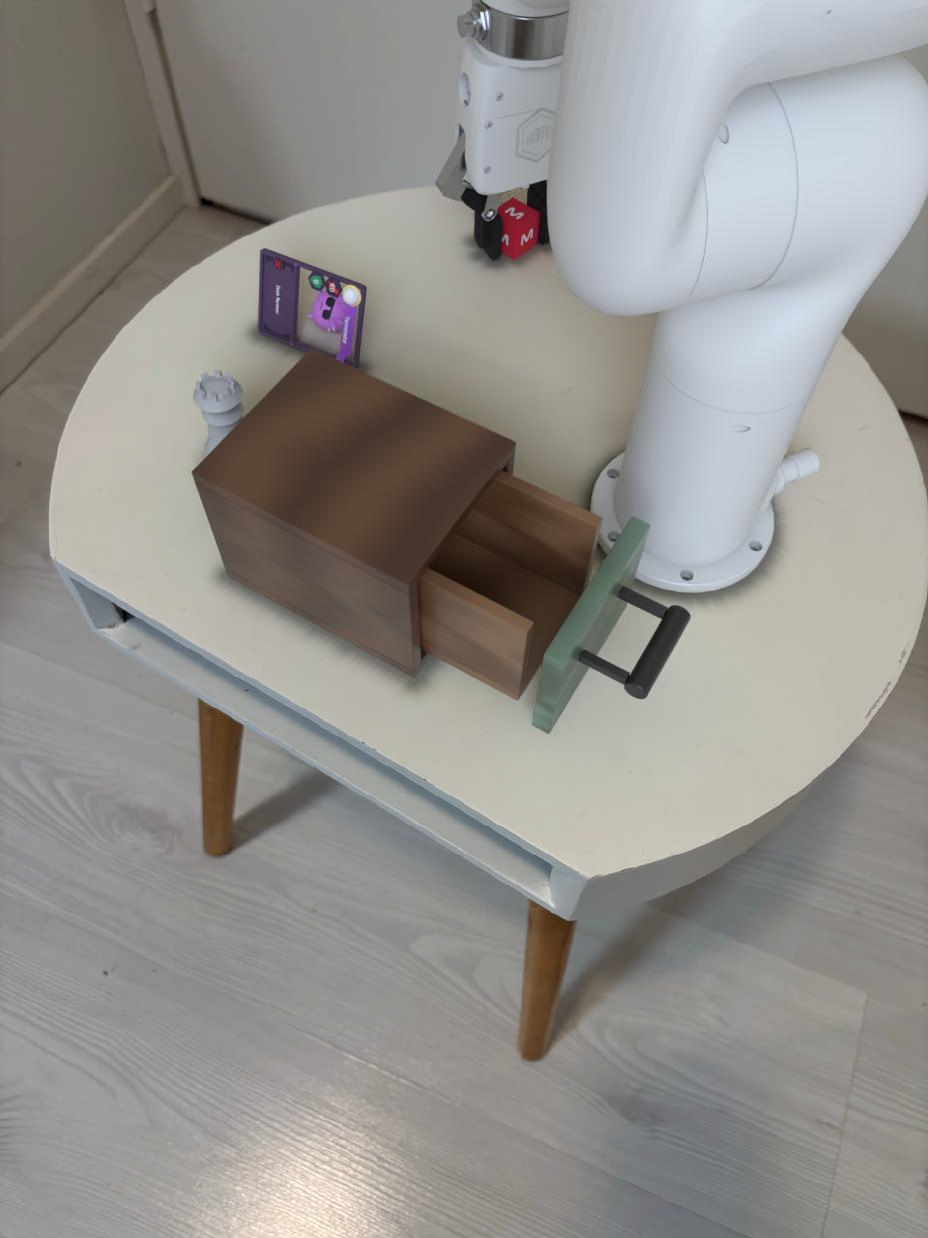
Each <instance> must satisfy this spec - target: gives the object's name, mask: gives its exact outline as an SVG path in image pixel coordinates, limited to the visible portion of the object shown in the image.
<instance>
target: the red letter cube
mask: <svg viewBox="0 0 928 1238" xmlns="http://www.w3.org/2000/svg"><path fill="white" fill-rule="evenodd" d="M497 213H498V214H499V215H500V217H501V218H502V221H503V224H502V242H501V254H502V253H503V255H506V256H507V257H509V258H511V259H512V260H514V261H515V260H517V259H518V258H520V257H521V256H522V255H523V254H524V253H526V252H527V251H529V250H530V249H531V248H533V247H534V246H535V245H537V244H538V241H537V240H538V229H539V218H540V212H538V211H536V210H535V209H533V208H531V207H529V206H528V205H526V203H524V202H522V201H521V200H519V199H518V198H516V197H514V196H512V197H511V198H509V199H508V200H507V201H504V203H502V204H501V205H499V206H498V211H497Z"/></svg>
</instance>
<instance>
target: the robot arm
mask: <svg viewBox="0 0 928 1238" xmlns="http://www.w3.org/2000/svg"><path fill="white" fill-rule="evenodd" d="M456 28H457V32H458V35H459V36H460V38H462V39H465V40H464V41H465V42H464V46H463V49H462V54H461V58H460V62H459V63H460V64H459V67H458V75H457V80H456V88H455V97H454V108H453V120H452V123H453V124H452V150H451V152H450V154H449V156H448V158H447V160H446V161H445V163H444V165H443V167H442V169H441V171H440V173H439V175H438V176H437V178H436V179H435V188H437V189H438V191H439V192H440V194H441V195H442V196H443V197H444V198H448V199H450V200H453V201H457V202H461V203H463V204H464V205H465V206H467V207H468V208H470V210H472V211H474V218H473V219H474V220H473V222H474V223H473V227H474V228H473V236H474V237H473V238H474V241H475V243H476V245H477V246H478V248H479V249H483V250H484V252H485V253H486V255H487V256H488V258H489V259H490V261H497V260H500V257H501V256H502V252H501V242H502V224H503V221H502V218H501V217H500V215H499V214H498V213H497V211H498V207H499V206H500V201H501V197H502V193H505V192H509V191H512V190H517V189H520V188H523V187H527V186H528V187H527V190H526V191H527V193H526V203H525V204H526V205H528V206H529V207H531V208H533V209H535V210H536V211H538V212H540V218H539V229H538V240H537V243H538V244H539V245H542V246H545V245H548V244H550V247H551V253H552V255H553V259H554V262H555V265H556V267H557V270H558V273H559V275H560V277H561V278H562V281H563V283H564V284H565V286H566V287H567V288H568V290H569V291H570V292H571V294H572V295H573V296H574V297H575V298H576V299H577V300H579V301H580V302H581V303H582V304H583V305H584V306H586V307H587V308H589V309H591V310H593V311H594V312H598V313H600V314H603V315H607V316H612V317H620V318H623V317H625V318H626V317H639V316H644V315H645V316H646V315H650V314H656V313H657V316H656V320H655V325H654V329H653V332H652V336H651V339H650V340H651V341H650V345H649V348H648V353H647V357H646V361H645V365H644V370H643V374H642V378H641V382H640V386H639V391H638V395H637V399H636V404H635V407H634V413H633V416H632V420H631V425H630V429H629V432H628V433H629V434H628V438H627V441H626V446H625V450H624V451H623V452H621V453H619V455H617V456H616V457H615V458H613V459H611V461H609V462H608V464H607V465H606V466H605V467H604V468H603V469H602V471H601V472H600V473H599V475H598V477H597V479H596V481H595V483H594V485H593V486H594V487H593V489H592V492H591V493H592V494H591V498H590V505H589V511H590V512H592V513H594V514H596V515H598V516H600V517H602V518H603V520H602V524H601V529H600V533H599V537H598V542H597V543H598V544H599V545H600V547H601V549H602V550H603V552H604V553H605V554H606V555H607V554H608V553H609V551H610V550H611V548H612V547H613V545H614V543H615V542H616V540H617V539H618V537H619V536H620V534H621V532H622V531H623V529H624V528H625V526H626V525H627V523H628V521H629V520H630V518H631V517H632V516H633V517H635V518H637V519H640V520H642V521H644V522H646V523H648V524H650V529H649V532H648V535H647V539H646V542H645V545H644V549H643V552H642V555H641V559H640V562H639V565H638V569H637V572H636V576H635V579H637V580H639V582H640V581H641V582H642V583H644V584H646V585H650V586H652V587H656V588H657V589H661V590H666V591H672V592H676V593H693V594H694V593H695V594H697V593H707V592H714V591H717V590H720V589H724V588H727V587H731V586H732V585H734V584H736V583H737V582H739V581H741V580H743V579H746V578H747V577H748V575H749V574H751V573H752V572H753V571H754V570H756V569H757V567H759V565H760V563H761V562H762V560H763V559H764V557H765V556H766V554H767V552H768V550H769V548H770V546H771V544H772V540H773V537H774V533H775V512H774V509H773V504H772V499H773V497H774V496H776V495H779V494H781V493H782V492H783V490H785V486H786V485H788V484H791V483H796V482H798V481H801V480H804V479H805V478H808V477H811V476H813V475H815V474H818V473H819V472H820V470H821V461H820V457H819V455H818V454H817V452H816V451H815V450H814V449H813V448H811V447H805V448H802V449H799V450H797V451H794V452H792V453H789V454H787V455H786V453H787V451H788V449H789V446H790V444H791V442H792V440H793V438H794V436H795V433H796V431H797V429H798V427H799V424H800V422H801V420H802V418H803V416H804V413H805V411H806V409H807V407H808V404H809V403H810V400H811V398H812V396H813V393H814V391H815V389H816V386H817V385H818V383H819V381H820V379H821V377H822V375H823V373H824V370H825V368H826V366H827V363H828V361H829V360H830V357H831V355H832V353H833V351H834V349H835V347H836V344H837V342H838V341H839V339H840V336H841V335H842V333H843V331H844V329H845V327H846V325H847V324H848V321H849V319H850V318H851V316H852V315H853V313H854V311H855V309H856V308H857V306H858V305H859V303H860V301H861V300H862V298H863V297H864V295H865V294H866V293H867V291H868V290H869V288H870V287H871V285H872V284H873V283H874V282H875V280H876V279H877V278H878V276H879V275H880V273H881V272H882V271H883V269H884V268H885V266H886V265H887V264H888V263H889V261H890V260H891V259H892V257H893V256H894V254H895V253H896V252H897V250H898V248H899V247H900V246H901V244H902V243H903V242H904V240H905V238H906V237H907V235H908V233H909V232H910V230H911V229H912V227H913V225H914V223H915V222H916V220H917V219H918V216H919V215H920V213H921V211H922V208H923V206H924V204H925V202H926V200H927V197H928V83H927V81H926V79H925V78H924V76H923V74H922V73H920V71H919V70H917V68H916V67H915V66H914V64H913V63H911V62H909V61H908V60H907V58H906V59H905V57H903V55H900V54H899V53H902V52H905V51H909V50H912V49H915V48H919V47H922V46H924V45H927V44H928V0H471V7H470V10H467V11H466V13H464V14H460V15H458V16H457V18H456ZM466 174H467V179H468V180H466V179H463V178H464V177H465V175H466Z"/></svg>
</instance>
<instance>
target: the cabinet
mask: <svg viewBox="0 0 928 1238" xmlns="http://www.w3.org/2000/svg"><path fill="white" fill-rule="evenodd" d="M516 447H517V442H516V441H515V440H512V439H511V438H508V437H506V436H504V435H502V434H499V433H498V432H495V431H494V430H491V429H488V428H487V427H484V426H482V425H480V424H478V423H476V422H473V421H471V420H469V419H467V418H465V417H463V416H460V415H458V414H456V413H454V412H452V411H450V410H447V409H445V408H443V407H441V406H438V405H436V404H435V403H432V402H430V401H427V400H426V399H423V398H421V397H419V396H416V395H414V394H412V393H411V392H408V391H406V390H404V389H402V388H399V387H397V386H396V385H393V384H391V383H389V382H386V381H384V380H382V379H381V378H377V377H375V376H373V375H371V374H369V373H366V372H365V371H362V370H360V369H359V368H358V369H356V368H354V367H352V366H349V365H347V364H345V363H343V362H341V361H338V360H336V359H334V358H332V357H330V356H328V355H325V354H323V353H321V352H319V351H317V350H314V349H312V348H311V349H310V350H309V351H308V352H306V353H305V354H304V355H303V356H302V357H301V358H300V359H299V360H298V361H297V362H296V363H295V364H294V365H293V366H292V367H291V368H290V369H289V371H287V372H286V374H284V375H283V376H282V377H281V378H280V380H279V381H278V382H276V384H275V385H274V386H273V387H272V388H271V389H270V390H269V391H268V392H267V393H266V394H265V395H264V396H263V397H262V398H261V399H260V400H259V401H258V402H257V403H256V404H255V406H253V408H252V409H251V410H250V411H248V413H247V414H246V415H245V416H243V419H242V420H241V421H240V422H239V423H238V424H237V425H236V426H235V427H234V428H233V429H232V431H231V432H230V433H229V434H228V435H227V436H226V437H225V438H224V439H223V440H222V441H221V442H220V443H219V444H218V445H217V446H216V447H215V448H214V449H213V450H212V451H211V452H210V453H209V454H208V455H207V456H206V457H205V458H204V457H203V459H202V460H201V461H200V462H199V463H198V464H197V465H196V467H195V468H194V469H192V471H190V472H191V475H192V479H193V481H194V484H195V487H196V490H197V493H198V496H199V499H200V501H201V505H202V507H203V510H204V512H205V516H206V518H207V521H208V524H209V527H210V530H211V532H212V535H213V538H214V541H215V544H216V547H217V550H218V553H219V556H220V558H221V561H222V564H223V566H224V569H225V572H226V575H227V577H229V578H230V579H232V580H234V581H236V582H238V583H240V584H241V585H244V587H247V588H249V589H251V590H252V591H254V592H256V593H258V594H260V595H262V596H263V597H265V598H267V599H269V600H271V601H273V602H275V603H277V604H278V605H280V606H281V607H284V608H286V609H287V610H289V611H291V612H293V613H295V614H296V615H298V616H300V617H301V618H304V619H305V620H307V621H309V622H311V623H312V624H315V625H316V626H318V627H320V628H321V629H324V630H326V631H327V632H329V633H331V634H333V635H335V636H336V637H338V638H340V639H342V640H344V641H345V642H347V643H349V644H350V645H353V646H354V647H356V648H359V649H360V650H362V651H364V652H366V653H367V654H369V655H371V656H373V657H375V658H376V659H379V660H380V661H382V662H384V663H386V664H387V665H389V666H391V667H393V668H395V669H396V670H398V671H400V672H402V673H404V674H405V675H407V676H409V677H411V678H413V679H415V678H416V677H417V676H418V674H419V672H420V671H421V670H422V668H423V667H424V665H425V664H426V663H427V661H428V660H429V658H430V657H431V656H432V655H431V654H429V653H427V652H426V651H424V650H422V649H421V645H420V625H419V605H418V585H417V582H418V581H419V579H420V578H421V577H422V575H423V574H424V573H425V571H426V570H427V569H428V567H429V566H430V565H431V563H432V562H433V561H434V559H435V558H436V557H437V555H438V554H439V553H440V551H441V550H442V549H443V547H444V546H445V545H446V543H447V542H448V541H449V539H450V538H451V537H452V535H453V534H454V533H455V531H456V530H457V529H458V527H459V526H460V525H461V523H462V522H463V521H464V519H465V518H466V517H467V515H468V514H469V513H470V511H471V510H472V509H473V507H474V506H475V505H476V503H477V502H478V501H479V499H480V498H481V497H482V495H483V494H484V493H485V491H486V490H487V489H488V487H489V486H490V485H491V483H492V482H493V481H494V479H495V478H496V477H497V475H498V474H499V473H500V471H501V470H502V471H504V472H507V473H509V474H511V475H513V476H514V470H515V469H514V468H515V457H516Z"/></svg>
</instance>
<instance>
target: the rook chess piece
mask: <svg viewBox="0 0 928 1238" xmlns="http://www.w3.org/2000/svg"><path fill="white" fill-rule="evenodd" d="M200 379H201V381H200V380H196V381H195V387H194V390H193V395H192V400H193V402H194V406H196V407H197V408H198V409H200V410H201V413H200V415H201V417H202V419H203V420H204V421H205V422H206V423H207V430H208V435H207V438H206V441H205V443H204V449H203V459H204V458H205V457H206V456H207V455H208V454H209V453H210V452H211V451H212V450H213V449H214V448H215V447H216V446H217V445H218V444H219V443H220V442H221V441H222V440H223V439H224V438H225V437H226V436H227V435H228V434H229V433H230V432H231V431H232V429H233V428H234V427H235V426H236V425H237V424H238V423H239V422H240V421H241V420H242V419H243V418H244V415H243V414H244V409H245V407H244V404H243V402H242V401H241V400H242V399H243V394H244V390H243V387H242V385H241V384H240V383H239V381H237V380H236V379H235V378H234V377H233V375H232V374H231V373H230V372H226V373H225V374H223V371H222V369H213V375H210V374H209V373H208V371H205V372H204V373H201V375H200Z"/></svg>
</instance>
